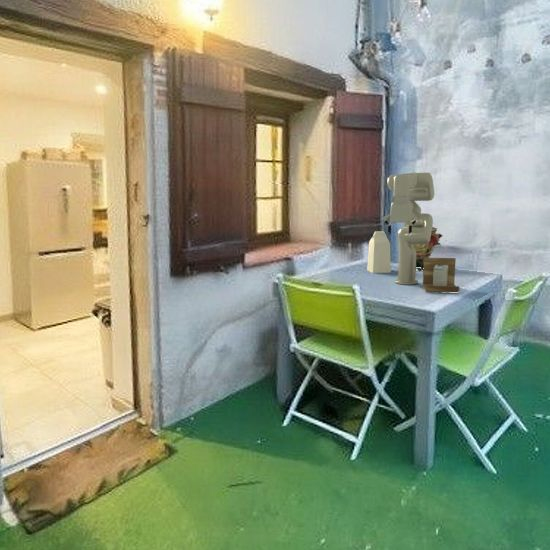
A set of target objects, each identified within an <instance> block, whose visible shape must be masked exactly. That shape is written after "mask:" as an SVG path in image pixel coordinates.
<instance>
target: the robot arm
mask: <svg viewBox="0 0 550 550" xmlns="http://www.w3.org/2000/svg"><path fill="white" fill-rule="evenodd" d="M386 183H387V188H388V189H389V190H392V191H393V193H392V195H393V196H392V197H390V201H392V202H391V203H390V204H391V205H390V212H389V213H388V214H387V215H385V216H383V217H382V220H383V221H384V223H385V224H386V225H387V233H389V234H390V235H391V234H392V224H393V223H403V227H401V228H400V229H399V230H398V232H397V239H398V267H397V269H398V271H397V275H398V276H397V279H395V280H394V281H395V284H399V285H406V286H409V285H412V286H413V285H417V284H419V281H418V280H417V279H416V275H417V274H416V273H417V271H416V250H415V249H414V247H413V246H412V245H426V244H428V243H429V241H430V237H431V232H432V227H433V224H434V221H433V219H434V218H433V216H432V214H430V213H423V212H422V208H421V206H420V205H419V204H418V203H417V202H420V201H421V202H427V201H428V202H430V201H432V200H433V199H434V197H435V187H434V179H433V176H432V174H431V173H430V172H409V173H408V172H407V173H401V174H391V175H389V177H387V182H386ZM388 218H389V221H388V220H387V219H388Z"/></svg>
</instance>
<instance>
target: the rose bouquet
mask: <svg viewBox="0 0 550 550" xmlns="http://www.w3.org/2000/svg"><path fill="white" fill-rule="evenodd" d="M437 229H438V228H437V227H433V226H432V232H431V237H430V241H429V243H428V244H426V245H412V246H413V247H414V249H415V250H416V267H421V270H423V268H424V258H430V257H431V256H432V253H433V252H434V250H435V247H436V246H441V242H439V241H440V239H441V238H442V237H443V235H442V234H441V233H436V232H437V231H438V230H437Z"/></svg>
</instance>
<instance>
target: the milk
mask: <svg viewBox="0 0 550 550" xmlns="http://www.w3.org/2000/svg"><path fill="white" fill-rule="evenodd" d="M391 263H392V262H391V242H390V240H389V239H388V237H387V234H386V231H383V230H381V231H374V233H373V235H372V237H371V238H370V240H369V241H368V253H367V267H366V270H367V271H368V272H370V273H372V274H384V273H385V274H388V273H389V274H390V273H392V265H391Z"/></svg>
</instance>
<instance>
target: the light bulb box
mask: <svg viewBox="0 0 550 550" xmlns="http://www.w3.org/2000/svg"><path fill="white" fill-rule="evenodd" d="M447 278H448V265H435V267H434V273H433V286H447Z"/></svg>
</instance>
